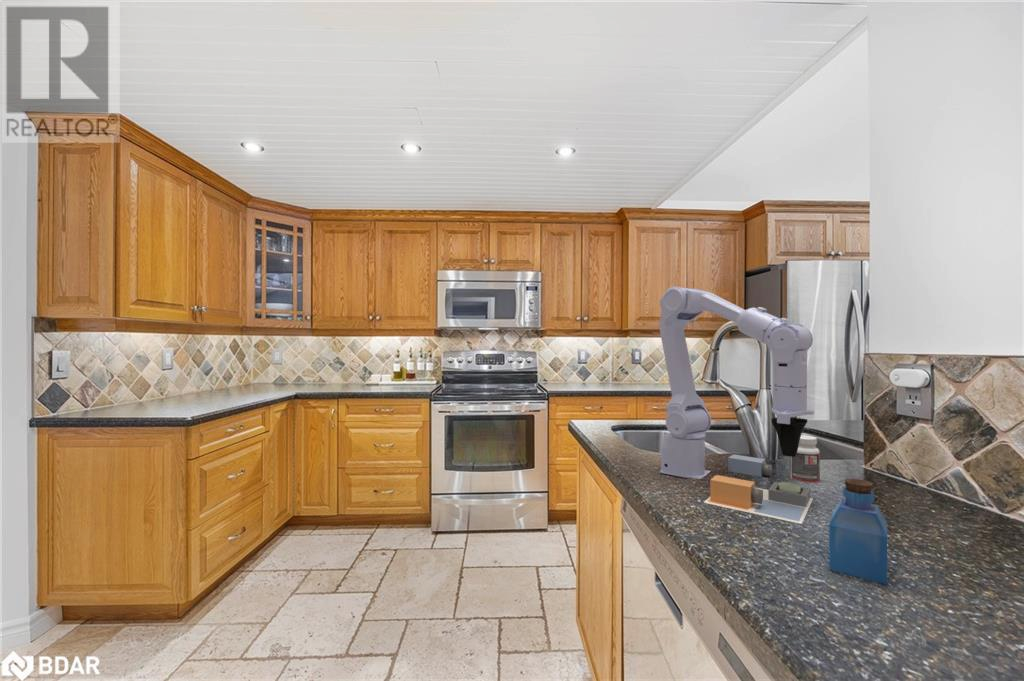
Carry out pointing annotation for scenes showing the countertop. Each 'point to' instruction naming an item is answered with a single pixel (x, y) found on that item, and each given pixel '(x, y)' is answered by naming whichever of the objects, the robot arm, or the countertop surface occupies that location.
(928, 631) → the countertop surface
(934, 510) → the countertop surface
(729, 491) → the orange marker
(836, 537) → the perfume bottle
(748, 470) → the grey-capped blue block
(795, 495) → the button housing
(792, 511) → the sheet
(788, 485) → the button
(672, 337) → the robot arm
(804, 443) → the pill bottle
